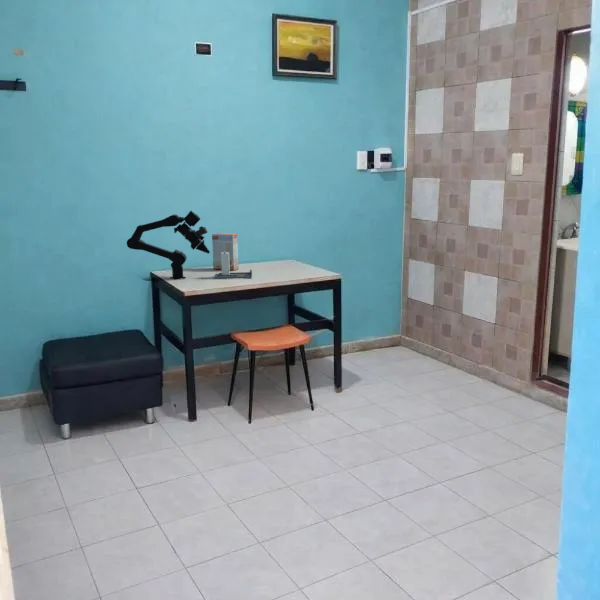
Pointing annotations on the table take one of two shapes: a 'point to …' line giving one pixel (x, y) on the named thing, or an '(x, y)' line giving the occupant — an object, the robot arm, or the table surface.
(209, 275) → the table surface
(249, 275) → the fader track base
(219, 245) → the cracker box
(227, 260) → the fader cap
